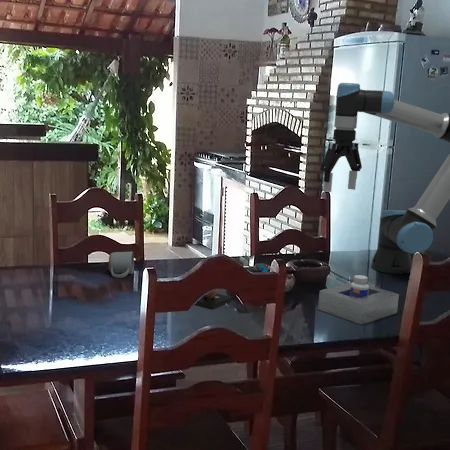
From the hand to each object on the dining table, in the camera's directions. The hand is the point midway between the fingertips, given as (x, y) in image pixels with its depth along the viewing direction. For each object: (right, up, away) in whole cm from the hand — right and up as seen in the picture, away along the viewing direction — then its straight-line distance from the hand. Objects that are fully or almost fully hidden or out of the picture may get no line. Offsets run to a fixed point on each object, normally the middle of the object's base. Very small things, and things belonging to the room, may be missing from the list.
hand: (339, 190), depth 224 cm
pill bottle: (0, -37, -29) cm, 47 cm away
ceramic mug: (-76, -29, -2) cm, 81 cm away
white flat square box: (0, -38, -29) cm, 48 cm away
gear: (-26, -33, -7) cm, 42 cm away
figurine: (-45, -36, -28) cm, 64 cm away
